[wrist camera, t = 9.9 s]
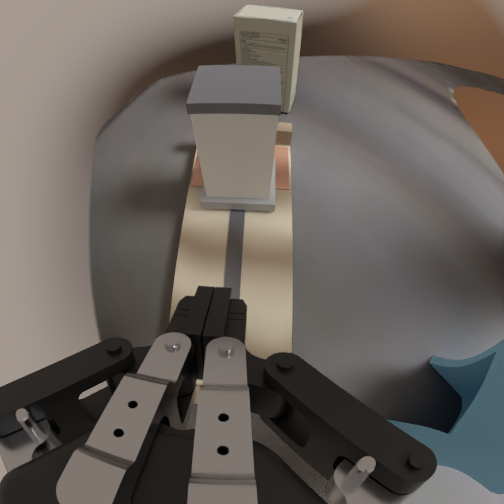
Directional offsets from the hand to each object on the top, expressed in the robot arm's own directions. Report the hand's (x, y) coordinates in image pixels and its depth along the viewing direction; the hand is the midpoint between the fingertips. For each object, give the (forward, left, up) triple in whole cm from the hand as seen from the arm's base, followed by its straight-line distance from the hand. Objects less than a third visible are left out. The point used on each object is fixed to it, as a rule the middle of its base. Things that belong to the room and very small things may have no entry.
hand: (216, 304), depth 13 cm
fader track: (-5, -4, -10) cm, 12 cm away
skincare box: (-22, -15, -10) cm, 29 cm away
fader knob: (-10, -8, -8) cm, 15 cm away
